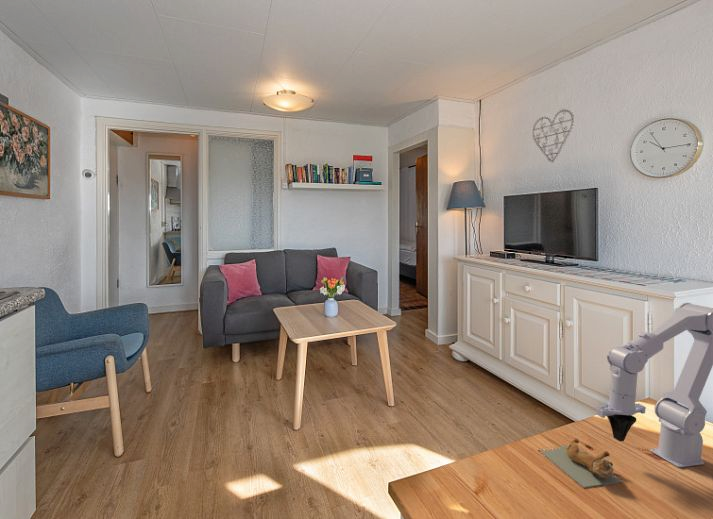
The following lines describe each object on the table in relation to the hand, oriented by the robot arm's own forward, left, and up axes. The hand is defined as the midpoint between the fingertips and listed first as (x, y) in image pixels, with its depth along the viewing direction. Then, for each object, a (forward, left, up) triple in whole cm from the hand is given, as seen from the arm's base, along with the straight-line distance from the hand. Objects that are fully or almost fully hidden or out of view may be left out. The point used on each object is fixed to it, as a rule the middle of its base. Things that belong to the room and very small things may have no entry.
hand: (618, 439), depth 101 cm
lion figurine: (+7, 0, -3) cm, 7 cm away
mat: (+13, 0, -6) cm, 14 cm away
